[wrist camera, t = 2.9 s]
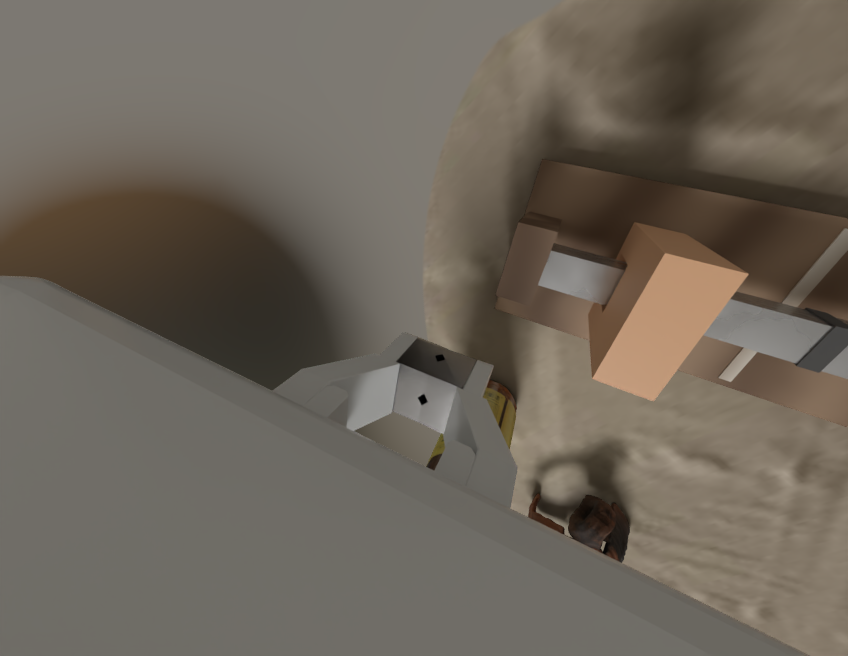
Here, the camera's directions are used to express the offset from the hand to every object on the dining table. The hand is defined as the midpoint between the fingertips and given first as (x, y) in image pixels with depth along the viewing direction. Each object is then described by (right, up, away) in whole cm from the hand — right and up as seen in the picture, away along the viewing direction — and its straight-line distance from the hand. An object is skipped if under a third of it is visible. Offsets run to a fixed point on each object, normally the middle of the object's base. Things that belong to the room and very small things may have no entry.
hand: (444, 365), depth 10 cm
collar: (+14, +5, +12) cm, 19 cm away
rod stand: (+18, +4, +13) cm, 23 cm away
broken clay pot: (+17, -19, +26) cm, 36 cm away
